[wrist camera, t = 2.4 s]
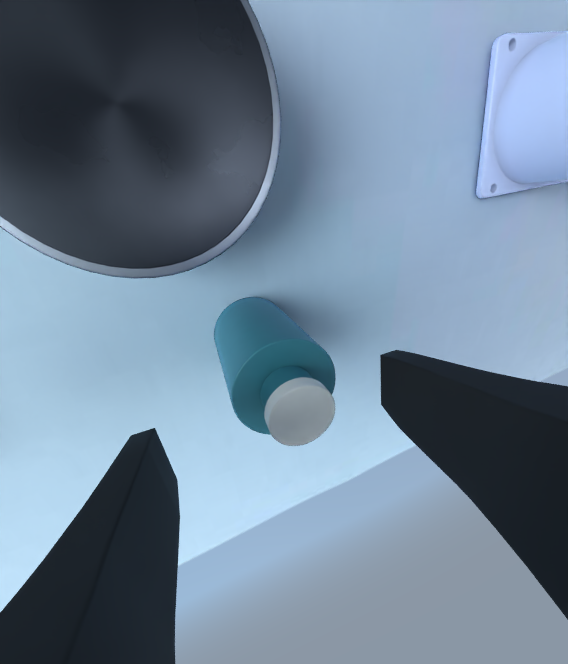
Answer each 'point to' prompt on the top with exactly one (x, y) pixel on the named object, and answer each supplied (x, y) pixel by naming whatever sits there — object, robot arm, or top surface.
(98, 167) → the round lidded tin
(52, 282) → the top surface
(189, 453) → the top surface
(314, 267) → the top surface
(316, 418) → the bottle
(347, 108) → the top surface
